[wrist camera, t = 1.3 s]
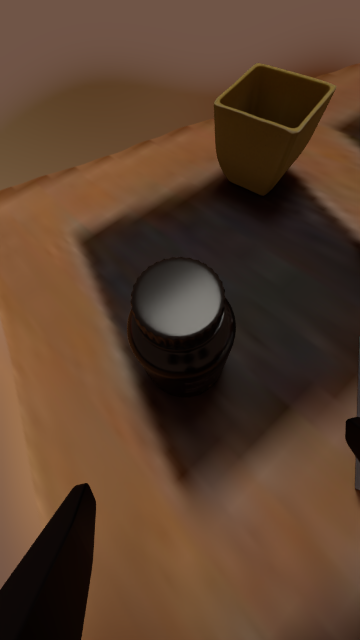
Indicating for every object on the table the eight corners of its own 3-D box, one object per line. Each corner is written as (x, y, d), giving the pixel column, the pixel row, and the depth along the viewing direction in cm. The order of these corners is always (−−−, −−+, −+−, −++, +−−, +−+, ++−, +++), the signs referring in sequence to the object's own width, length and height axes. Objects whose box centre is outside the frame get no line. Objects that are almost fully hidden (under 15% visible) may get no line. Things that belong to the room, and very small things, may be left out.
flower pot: (304, 170, 34) (339, 83, 25) (271, 214, 31) (298, 131, 23) (243, 147, 36) (257, 61, 28) (207, 185, 33) (211, 102, 25)
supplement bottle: (133, 354, 25) (83, 284, 14) (190, 312, 26) (187, 219, 15) (178, 417, 22) (162, 391, 11) (239, 366, 24) (277, 301, 13)
